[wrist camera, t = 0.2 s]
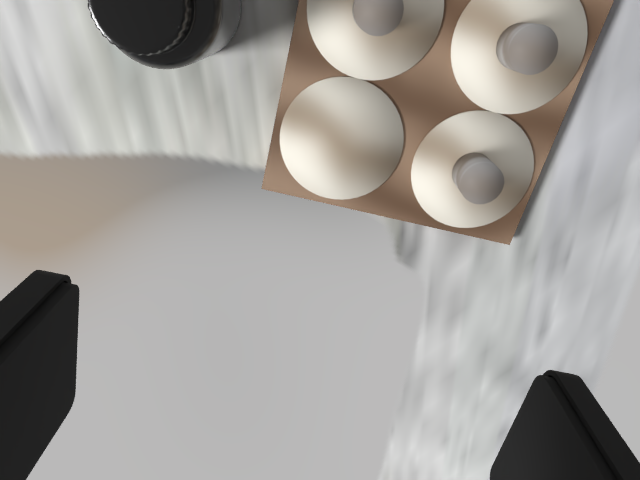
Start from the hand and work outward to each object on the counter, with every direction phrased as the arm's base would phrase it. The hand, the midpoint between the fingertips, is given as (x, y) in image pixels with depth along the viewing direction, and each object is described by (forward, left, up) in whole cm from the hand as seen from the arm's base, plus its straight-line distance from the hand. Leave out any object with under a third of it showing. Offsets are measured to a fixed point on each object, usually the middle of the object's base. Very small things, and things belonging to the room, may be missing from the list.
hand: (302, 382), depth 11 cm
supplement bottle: (-5, -10, -31) cm, 33 cm away
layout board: (-3, +7, -30) cm, 31 cm away
